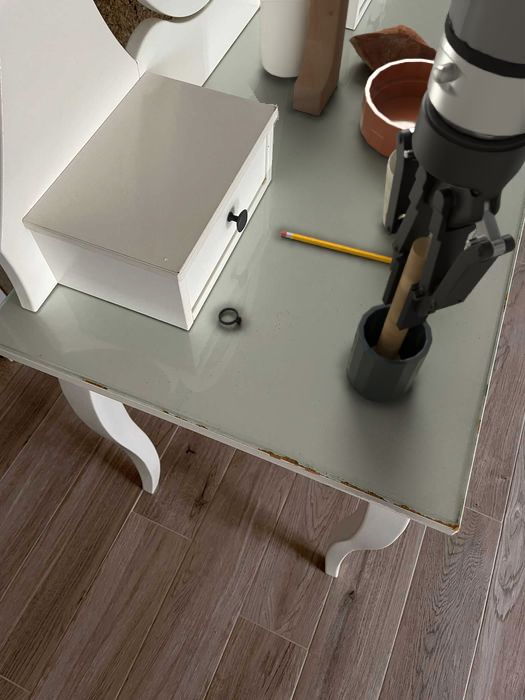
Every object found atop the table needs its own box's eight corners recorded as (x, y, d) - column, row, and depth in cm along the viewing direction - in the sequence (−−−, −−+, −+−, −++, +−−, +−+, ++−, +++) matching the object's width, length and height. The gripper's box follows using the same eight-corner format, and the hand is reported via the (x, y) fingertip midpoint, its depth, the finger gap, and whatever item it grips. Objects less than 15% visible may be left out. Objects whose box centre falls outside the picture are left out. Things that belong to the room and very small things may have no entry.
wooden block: (319, 117, 90) (331, -2, 74) (291, 109, 91) (298, -10, 75) (338, 83, 94) (354, -37, 78) (312, 76, 95) (323, -44, 79)
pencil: (282, 233, 79) (282, 229, 78) (423, 268, 76) (425, 265, 75) (280, 237, 78) (281, 233, 78) (422, 273, 75) (424, 269, 75)
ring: (215, 322, 72) (236, 331, 71) (214, 317, 71) (235, 326, 70) (225, 308, 73) (246, 316, 72) (224, 303, 72) (245, 311, 71)
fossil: (450, 53, 92) (429, 5, 84) (424, 100, 92) (400, 56, 84) (386, 48, 100) (361, 4, 92) (362, 90, 100) (335, 50, 93)
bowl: (488, 151, 86) (502, 117, 81) (388, 179, 83) (396, 145, 78) (435, 84, 94) (445, 49, 89) (341, 107, 91) (346, 72, 86)
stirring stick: (406, 376, 66) (463, 260, 48) (371, 388, 65) (415, 275, 47) (389, 344, 68) (437, 222, 50) (355, 356, 67) (391, 235, 49)
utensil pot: (423, 390, 67) (445, 351, 59) (363, 411, 66) (377, 374, 58) (394, 336, 70) (411, 294, 63) (336, 355, 69) (346, 314, 61)
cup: (291, 92, 93) (296, 2, 80) (249, 72, 95) (248, -19, 83) (321, 65, 96) (330, -25, 84) (280, 46, 98) (283, -44, 86)
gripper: (376, 43, 39) (335, 261, 60) (498, 205, 32) (404, 390, 52) (474, 21, 40) (401, 242, 61) (612, 172, 33) (477, 365, 54)
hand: (403, 310), depth 57 cm, fingers closed on stirring stick, 2 cm apart
